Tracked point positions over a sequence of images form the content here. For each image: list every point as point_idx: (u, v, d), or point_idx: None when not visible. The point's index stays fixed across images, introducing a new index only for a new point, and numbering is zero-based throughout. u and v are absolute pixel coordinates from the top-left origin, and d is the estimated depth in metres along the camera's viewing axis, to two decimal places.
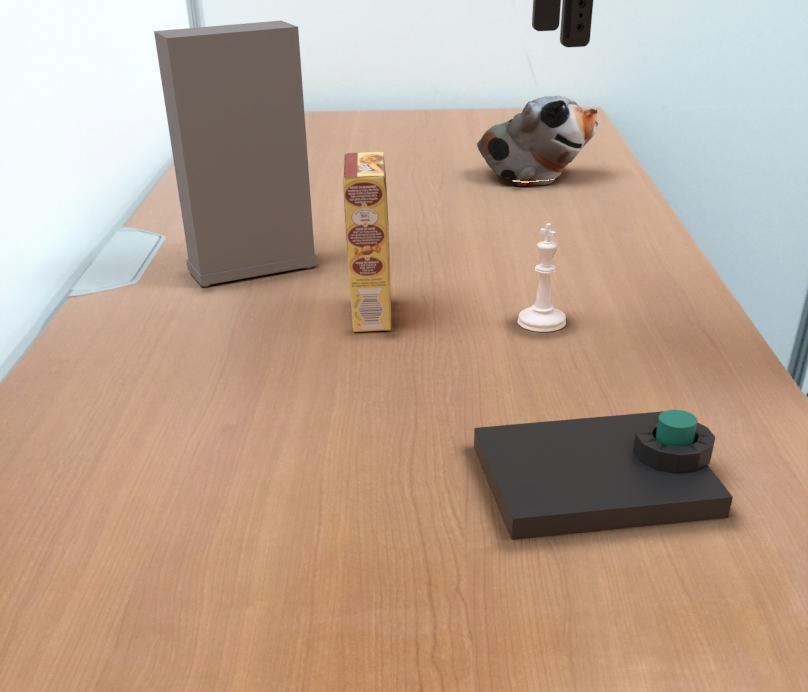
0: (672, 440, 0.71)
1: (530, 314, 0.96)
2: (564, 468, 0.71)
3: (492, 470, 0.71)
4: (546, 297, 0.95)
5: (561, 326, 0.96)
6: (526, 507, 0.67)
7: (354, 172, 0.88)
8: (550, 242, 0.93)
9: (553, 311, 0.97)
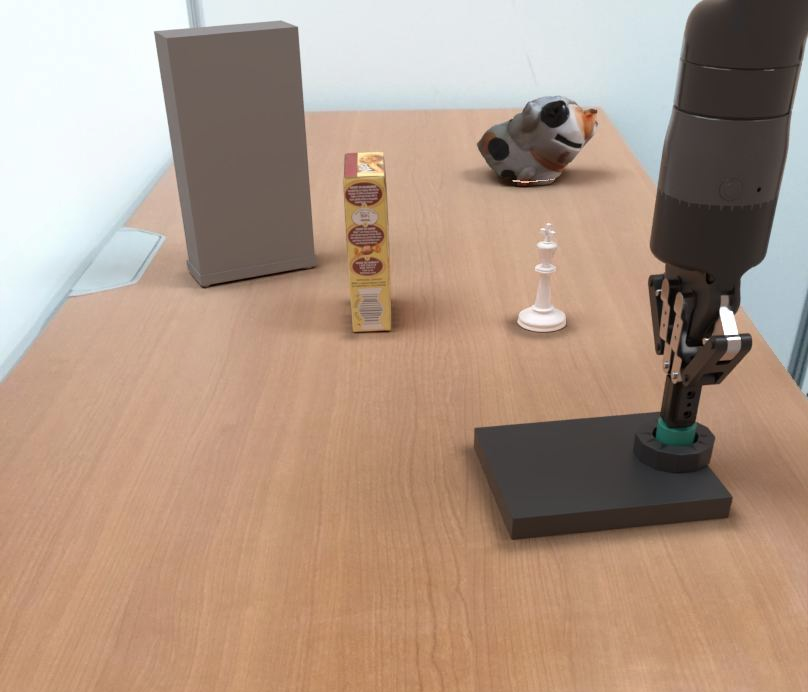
0: (672, 444, 0.71)
1: (530, 314, 0.96)
2: (564, 468, 0.71)
3: (492, 470, 0.71)
4: (546, 297, 0.95)
5: (561, 326, 0.96)
6: (526, 507, 0.67)
7: (354, 172, 0.88)
8: (550, 242, 0.93)
9: (553, 311, 0.97)
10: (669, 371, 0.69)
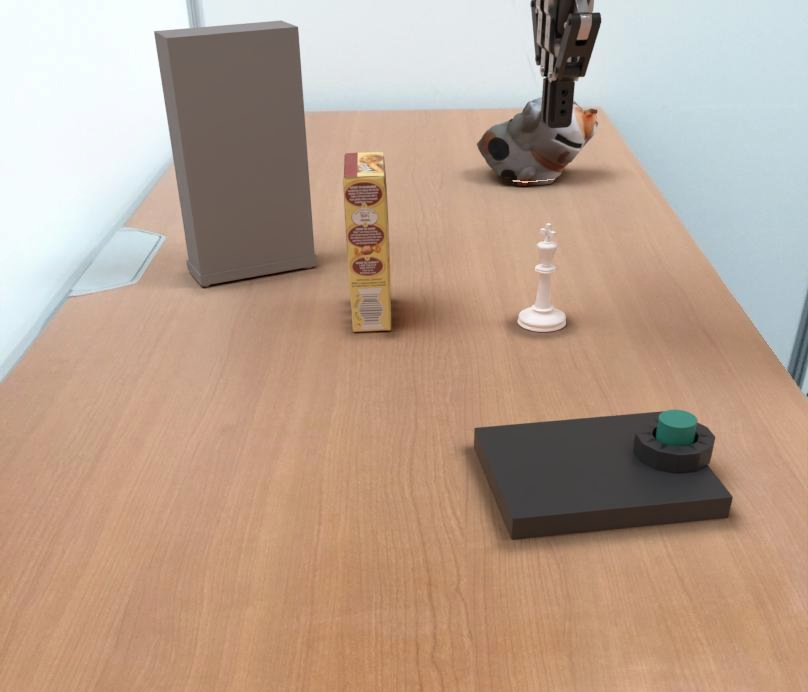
0: (672, 440, 0.71)
1: (530, 314, 0.96)
2: (564, 468, 0.71)
3: (492, 470, 0.71)
4: (546, 297, 0.95)
5: (561, 326, 0.96)
6: (526, 507, 0.67)
7: (354, 172, 0.88)
8: (550, 242, 0.93)
9: (553, 311, 0.97)
10: (544, 73, 0.84)
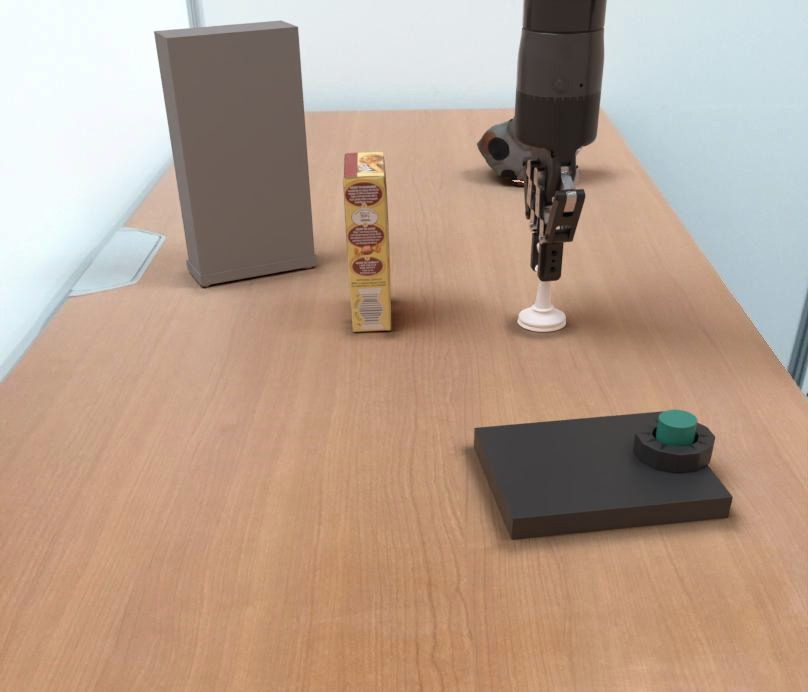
0: (672, 440, 0.71)
1: (530, 314, 0.96)
2: (564, 468, 0.71)
3: (492, 470, 0.71)
4: (546, 297, 0.95)
5: (561, 326, 0.96)
6: (526, 507, 0.67)
7: (354, 172, 0.88)
8: None
9: (553, 311, 0.97)
10: (533, 229, 0.93)
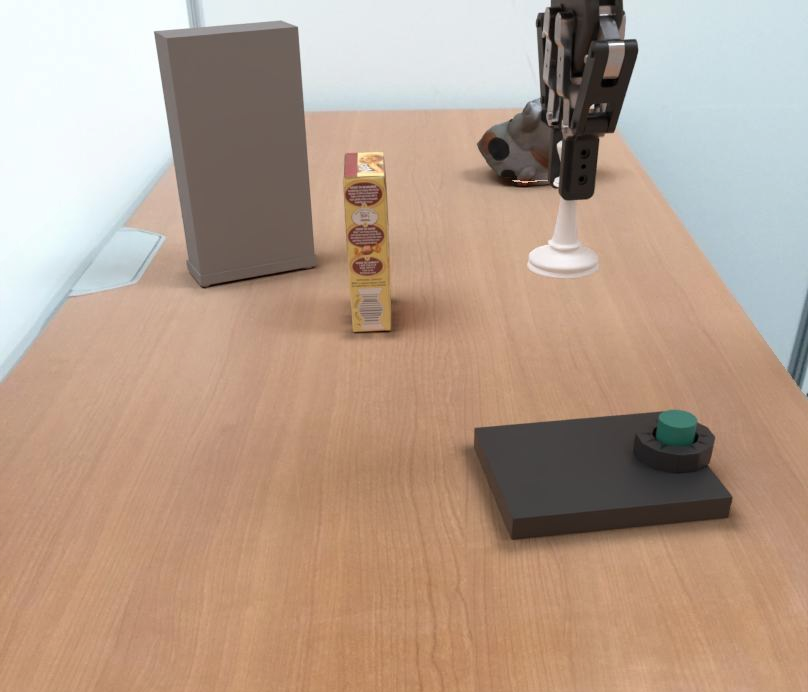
0: (672, 440, 0.71)
1: (546, 253, 0.65)
2: (564, 468, 0.71)
3: (492, 470, 0.71)
4: (570, 226, 0.64)
5: (592, 271, 0.65)
6: (526, 507, 0.67)
7: (354, 172, 0.88)
8: None
9: (580, 248, 0.65)
10: (553, 121, 0.62)
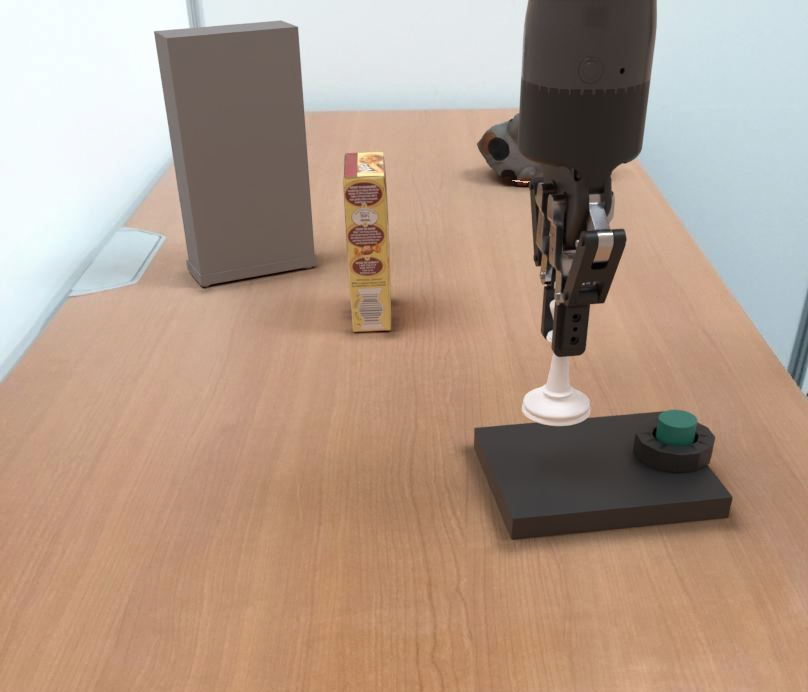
0: (672, 440, 0.71)
1: (540, 400, 0.68)
2: (564, 468, 0.71)
3: (492, 470, 0.71)
4: (563, 376, 0.67)
5: (584, 417, 0.67)
6: (526, 507, 0.67)
7: (354, 172, 0.88)
8: None
9: (572, 395, 0.68)
10: (546, 282, 0.65)
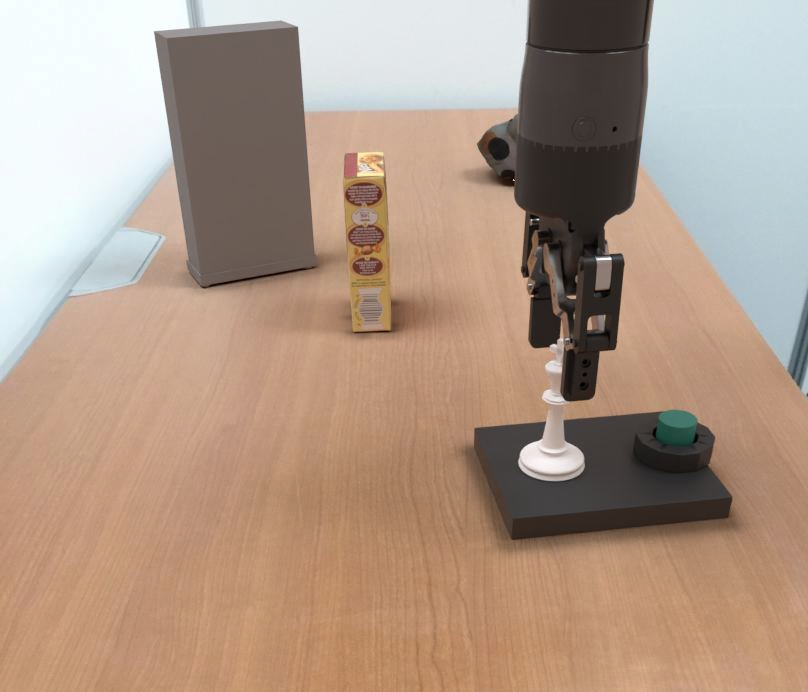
0: (672, 440, 0.71)
1: (536, 456, 0.70)
2: None
3: (492, 470, 0.71)
4: (558, 434, 0.69)
5: (578, 472, 0.70)
6: (526, 507, 0.67)
7: (354, 172, 0.88)
8: None
9: (567, 451, 0.71)
10: (532, 293, 0.68)
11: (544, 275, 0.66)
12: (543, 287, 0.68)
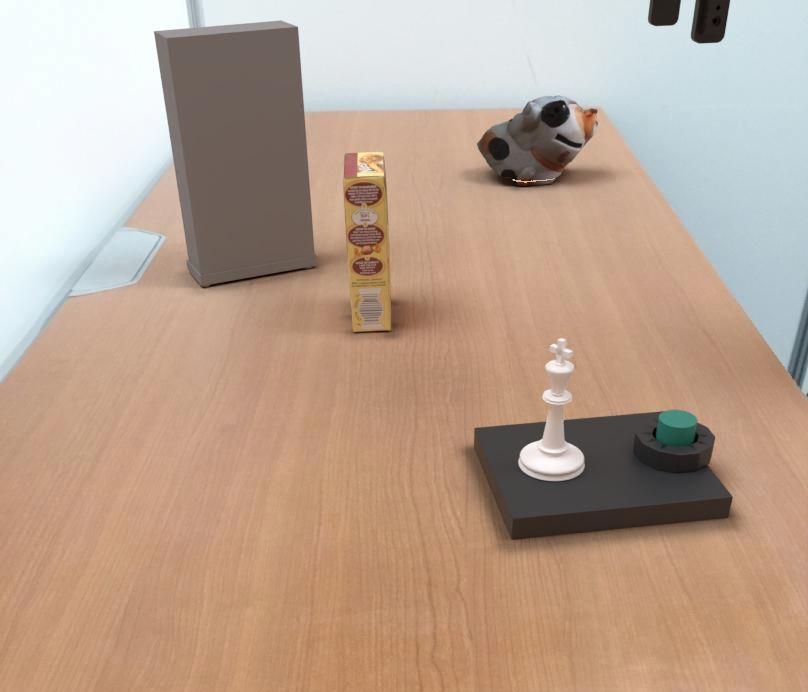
0: (672, 440, 0.71)
1: (536, 456, 0.70)
2: None
3: (492, 470, 0.71)
4: (558, 434, 0.69)
5: (578, 472, 0.70)
6: (526, 507, 0.67)
7: (354, 172, 0.88)
8: (564, 364, 0.67)
9: (567, 451, 0.71)
10: None
11: None
12: None
